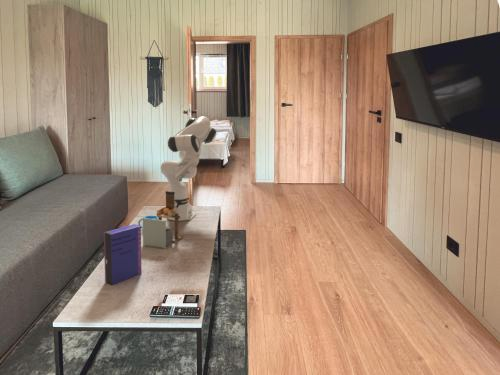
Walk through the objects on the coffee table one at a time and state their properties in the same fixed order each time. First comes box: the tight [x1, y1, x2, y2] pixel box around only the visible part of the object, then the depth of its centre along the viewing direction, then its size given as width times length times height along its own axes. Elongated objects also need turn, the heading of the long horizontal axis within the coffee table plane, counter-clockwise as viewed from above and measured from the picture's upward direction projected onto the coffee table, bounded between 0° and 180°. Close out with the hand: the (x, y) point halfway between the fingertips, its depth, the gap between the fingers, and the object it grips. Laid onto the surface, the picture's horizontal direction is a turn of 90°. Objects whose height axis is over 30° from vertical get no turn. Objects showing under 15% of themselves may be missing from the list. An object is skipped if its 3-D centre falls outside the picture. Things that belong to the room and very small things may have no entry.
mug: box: [137, 215, 158, 230], centre depth 305 cm, size 12×8×8 cm
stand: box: [157, 213, 184, 244], centre depth 288 cm, size 10×14×16 cm
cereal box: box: [103, 223, 143, 286], centre depth 227 cm, size 17×5×24 cm, turn 144°
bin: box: [142, 217, 174, 250], centre depth 277 cm, size 11×14×16 cm
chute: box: [156, 190, 177, 219], centre depth 284 cm, size 10×9×15 cm
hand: (184, 176), depth 290 cm, fingers open, 8 cm apart
